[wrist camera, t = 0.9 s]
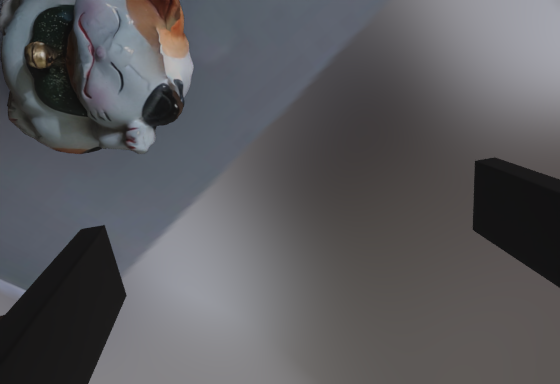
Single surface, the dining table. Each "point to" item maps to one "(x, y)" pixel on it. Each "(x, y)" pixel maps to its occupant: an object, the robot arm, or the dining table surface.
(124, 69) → the lucky cat figurine
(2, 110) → the dining table surface
